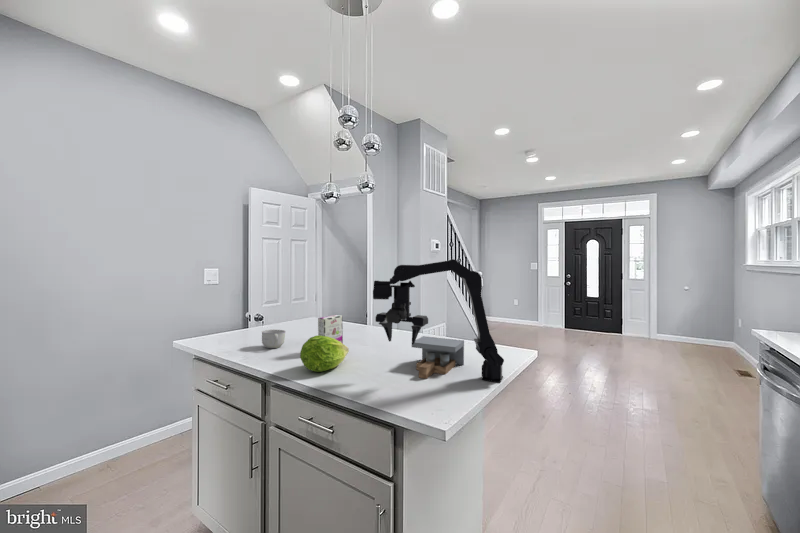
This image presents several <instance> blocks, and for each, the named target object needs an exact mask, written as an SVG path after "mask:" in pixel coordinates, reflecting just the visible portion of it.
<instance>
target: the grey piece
mask: <svg viewBox="0 0 800 533" xmlns="http://www.w3.org/2000/svg"><path fill="white" fill-rule="evenodd" d="M411 348H415V349H416V348H417V349H421V352H422V353H421V360H423V359H424V358H426V352H428V351H432V352H435V357H437V358H440V354H441V353H448V354H449V359H452V360H455V365H459V366H464V365H465V340H464V339H453V338H445V337H444V338H443V337H434V336H425V335H423V336H421V337H419V338H416V340H415V343H414V344H412V343H411Z"/></svg>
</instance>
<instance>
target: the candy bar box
mask: <svg viewBox="0 0 800 533" xmlns="http://www.w3.org/2000/svg"><path fill="white" fill-rule="evenodd" d="M343 327H344V326H343V315H341V314H340V315H338V314H335V315H334V314H333V315H328V316H322V317H318V318H317V333H318V335H317V336H319V335H321V336H327V337H331V338H334V339H336V340H338V341H340V342H341V343H342V344H344V341H343V340H344V339H343V332H344V330H343V329H344V328H343Z"/></svg>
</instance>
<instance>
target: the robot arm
mask: <svg viewBox="0 0 800 533" xmlns="http://www.w3.org/2000/svg"><path fill="white" fill-rule="evenodd" d="M448 271H449V272H450V271H451V272H453V273H454V274H455V275H457V276H458V277H459V278H460V279H461V280H462V284H463V285H464V287H465V290H466V292H467V294H468V296H469V299H470V303H471V308H472V312H473V317H474V322H475V325H476V331H477V337H476V338H473V340H474V343H475V346H476V347H475V350H476V351H477V352H478V353H479V354H480V355H481V356H482V358H483V359H484V360H483V364H481V380H482V381H487V382H495V383H501V382H502V380H503V379H504V376H503V364H504V362H505V359H504V358H503V357H502V356H501V355H500V354H499V352H498V348H497V346H496V343H495V341H494V339H493V337H492V335H491V332H490V329H489V328H490V327H489V325H488V320H487V315H486V310H485V306H484V301H483V296H482V289H483V284H482V281H483V280H482V275H481V274H480V273H479V272H477V271H475V270H470V269H468V268H467V267H466V266H464V265H463V264H462V263H460V262H459V261H458V260H457V259H453V258H451V259H449V260H443V261H438V262H431V263H424V264H417V265H416V264H399V265H396V266H395V268H394V271H393V275H392V277H391V278H389V280H373V290H372V300H389V299H390V298H392V297H393V302H392V303H391V308H390V309H388V311H387V312H379V313H376V316H375V323H376V322H377V323H378V325H381V326H382V327H383V329H384V331H385V334H386V336H387V337H386V338H387V340H388V342H392V338H393V337H392V335H393V324H399V323H401V322H403V323H412V325H411V326H410V327H411V329H412V331H411V345H412V344H414V343H415V340H417V339H418V335H419V333H420V332H421V331H420V330H421V329H422V328H423V327H424V326H426V325H427V324H429V318H428V316H427V315H421V314H420V315H419V314H417V315H415V316H412V312H410V306H411V304H412V302H411V301H410V296H411V295H410V293H411V292H410V288H415V287H416V286H415V284H414V282H412V280H411V279H414V278H416V277H419V276H423V275H424V276H425V275H429V274H435V273H442V272H448ZM406 281H408V282H406ZM399 282H400V283H399ZM397 283H399V284H397Z"/></svg>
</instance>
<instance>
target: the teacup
mask: <svg viewBox="0 0 800 533" xmlns="http://www.w3.org/2000/svg"><path fill="white" fill-rule="evenodd" d="M285 339H286V330H283V329H264V330H262V331H261V343H262V345H263V347H265V348H266V349H278V348H281V347H282V346H283V345H284V344H285Z"/></svg>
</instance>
